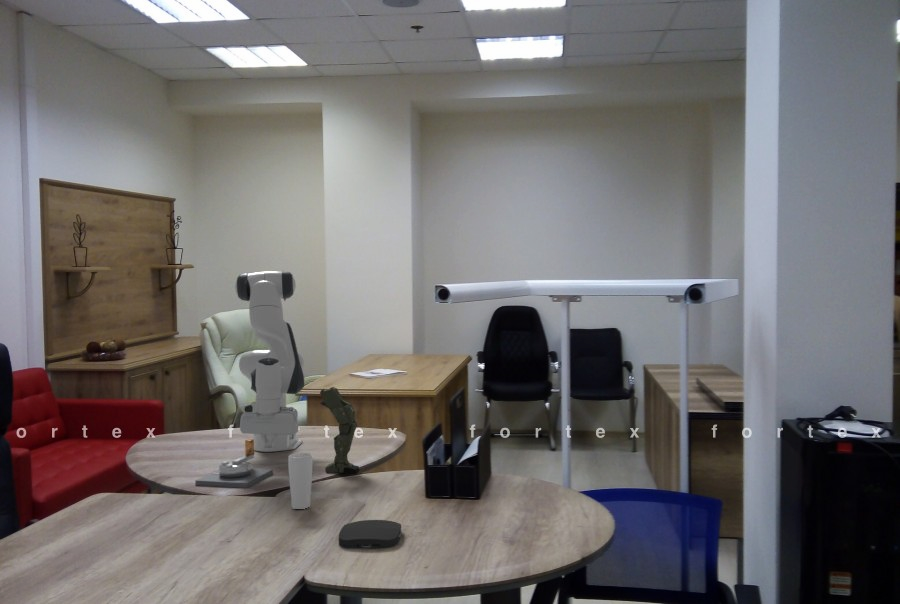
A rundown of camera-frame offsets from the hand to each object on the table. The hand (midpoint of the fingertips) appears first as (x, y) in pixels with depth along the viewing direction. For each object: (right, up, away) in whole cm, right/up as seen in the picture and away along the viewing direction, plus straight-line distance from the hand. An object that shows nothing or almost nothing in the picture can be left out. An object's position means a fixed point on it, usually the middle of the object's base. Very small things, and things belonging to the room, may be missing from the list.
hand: (269, 447), depth 247 cm
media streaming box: (+42, -10, -67) cm, 80 cm away
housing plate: (-9, -9, -8) cm, 15 cm away
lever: (-9, -7, -5) cm, 12 cm away
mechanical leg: (+24, -9, +2) cm, 25 cm away
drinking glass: (+19, -9, -41) cm, 46 cm away
